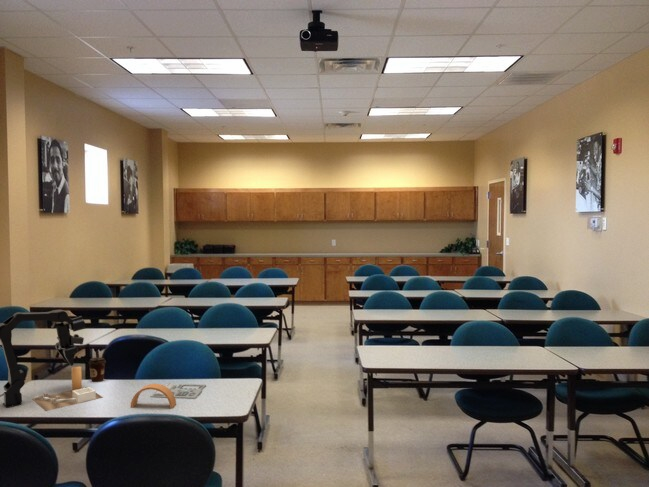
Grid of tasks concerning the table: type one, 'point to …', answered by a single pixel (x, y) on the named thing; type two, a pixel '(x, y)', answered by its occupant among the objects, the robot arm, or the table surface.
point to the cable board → (57, 400)
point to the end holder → (84, 394)
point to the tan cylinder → (76, 378)
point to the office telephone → (181, 391)
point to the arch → (157, 387)
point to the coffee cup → (97, 369)
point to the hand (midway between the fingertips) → (69, 363)
